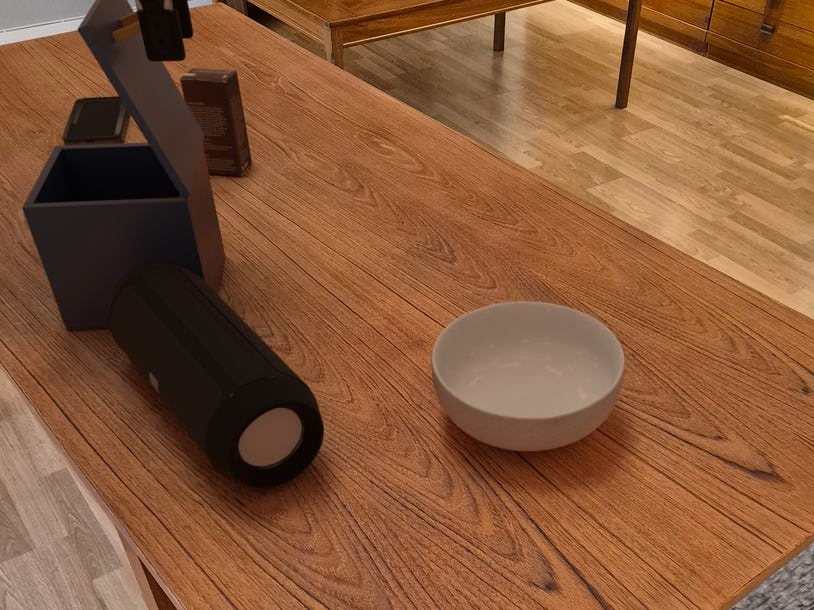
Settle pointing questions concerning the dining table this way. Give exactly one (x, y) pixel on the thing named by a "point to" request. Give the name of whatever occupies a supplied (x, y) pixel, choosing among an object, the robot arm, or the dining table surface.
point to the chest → (117, 224)
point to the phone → (96, 121)
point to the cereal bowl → (527, 374)
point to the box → (219, 118)
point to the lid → (144, 89)
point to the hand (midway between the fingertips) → (171, 46)
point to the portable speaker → (216, 376)
